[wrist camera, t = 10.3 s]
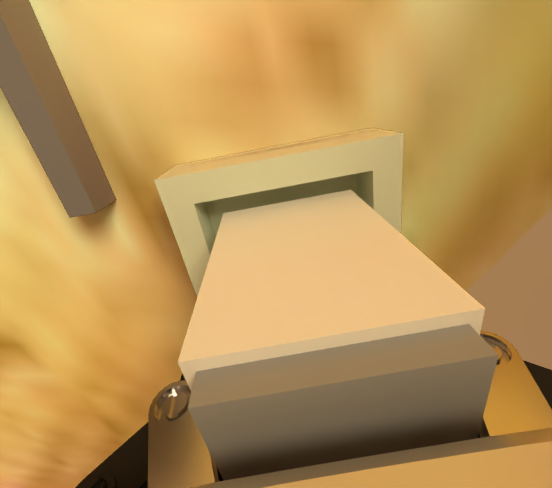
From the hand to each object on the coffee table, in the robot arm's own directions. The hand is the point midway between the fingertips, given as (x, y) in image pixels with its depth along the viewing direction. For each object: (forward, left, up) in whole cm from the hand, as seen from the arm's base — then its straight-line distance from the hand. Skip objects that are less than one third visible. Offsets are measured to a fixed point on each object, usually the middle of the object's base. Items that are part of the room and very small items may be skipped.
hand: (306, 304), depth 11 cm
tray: (0, 0, -5) cm, 5 cm away
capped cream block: (0, 0, -2) cm, 2 cm away
